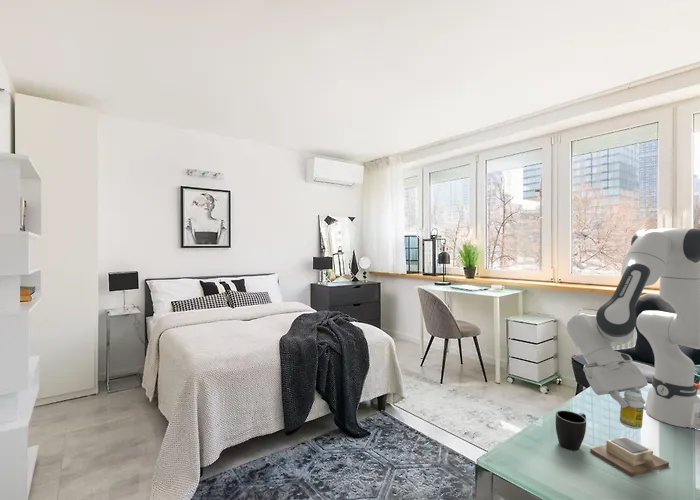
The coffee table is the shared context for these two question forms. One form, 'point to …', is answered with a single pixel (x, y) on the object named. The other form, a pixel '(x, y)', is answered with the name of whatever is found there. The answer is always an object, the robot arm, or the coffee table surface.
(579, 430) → the mug
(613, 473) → the coffee table surface
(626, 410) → the supplement bottle
